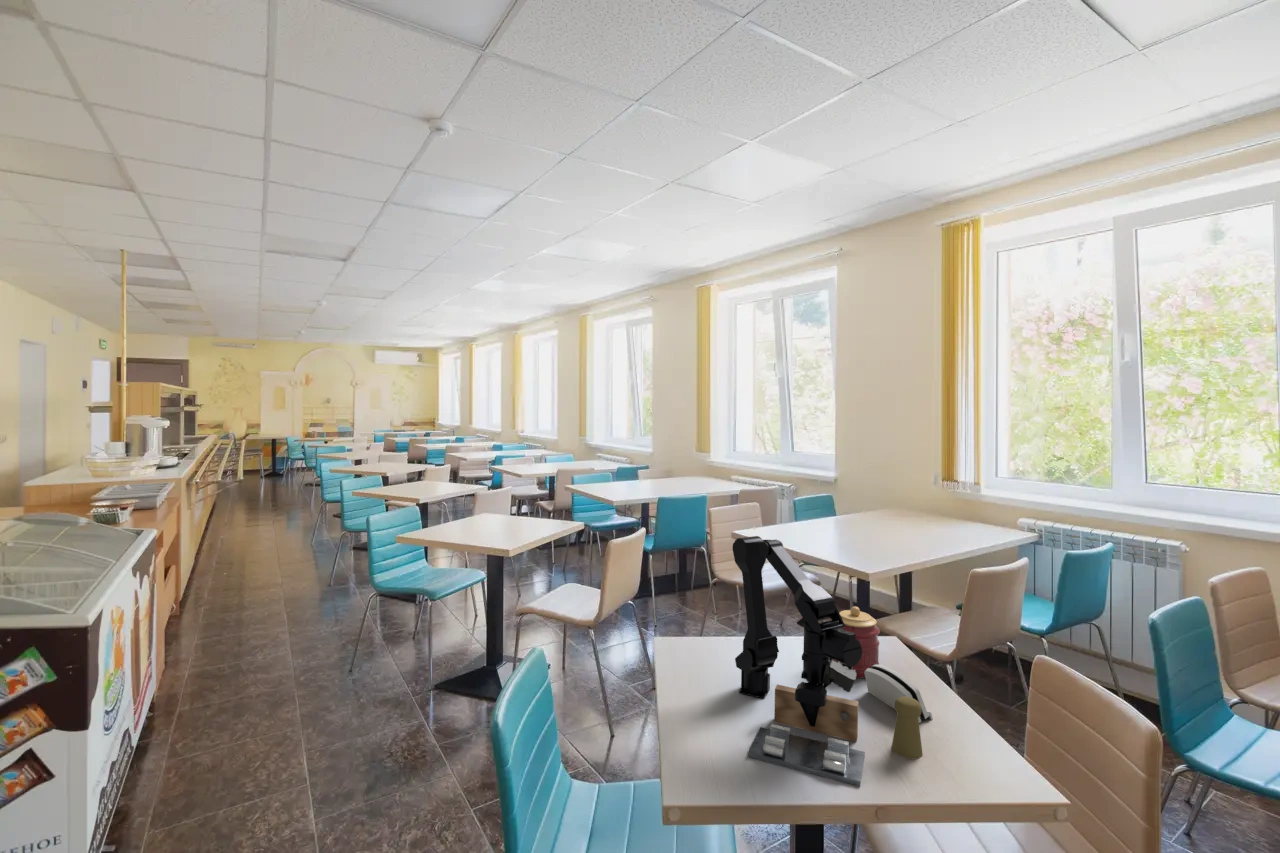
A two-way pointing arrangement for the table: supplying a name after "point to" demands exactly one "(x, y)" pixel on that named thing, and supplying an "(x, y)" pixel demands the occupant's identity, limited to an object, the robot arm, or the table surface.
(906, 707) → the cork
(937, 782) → the table surface
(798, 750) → the plate
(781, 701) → the cabinet door
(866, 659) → the canister
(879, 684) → the white curved block
